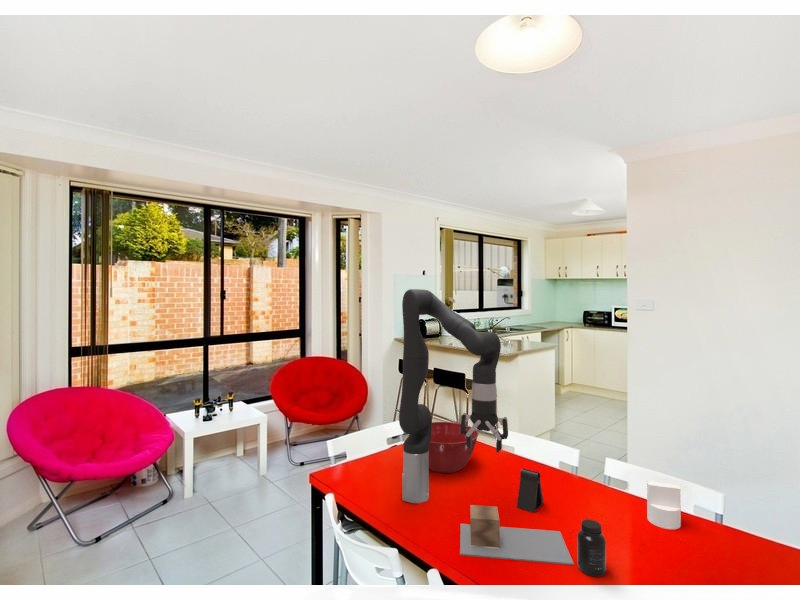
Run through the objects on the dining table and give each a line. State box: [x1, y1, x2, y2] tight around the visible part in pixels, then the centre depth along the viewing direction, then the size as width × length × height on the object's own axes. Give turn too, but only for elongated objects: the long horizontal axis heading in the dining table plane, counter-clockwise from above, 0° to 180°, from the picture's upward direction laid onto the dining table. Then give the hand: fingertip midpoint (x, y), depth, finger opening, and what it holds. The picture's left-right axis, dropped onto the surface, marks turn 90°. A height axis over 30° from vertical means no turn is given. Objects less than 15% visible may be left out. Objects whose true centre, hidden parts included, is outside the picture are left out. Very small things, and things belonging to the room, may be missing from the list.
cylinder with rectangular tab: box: [646, 481, 682, 530], centre depth 133 cm, size 9×9×12 cm
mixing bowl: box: [429, 421, 479, 474], centre depth 178 cm, size 28×28×16 cm
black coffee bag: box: [516, 468, 545, 514], centre depth 145 cm, size 9×6×12 cm, turn 140°
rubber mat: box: [459, 523, 575, 566], centre depth 122 cm, size 30×16×1 cm, turn 81°
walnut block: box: [469, 504, 500, 549], centre depth 123 cm, size 8×8×8 cm
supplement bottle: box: [576, 518, 607, 578], centre depth 110 cm, size 7×7×12 cm
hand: (483, 449), depth 128 cm, fingers open, 8 cm apart
